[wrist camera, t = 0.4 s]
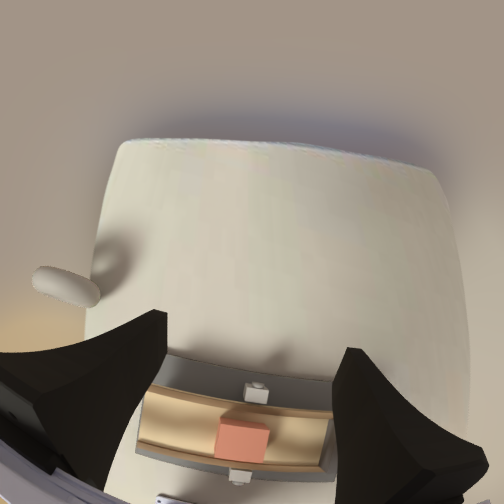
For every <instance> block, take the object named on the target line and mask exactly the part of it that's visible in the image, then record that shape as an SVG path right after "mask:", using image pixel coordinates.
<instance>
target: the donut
mask: <svg viewBox="0 0 504 504" xmlns="http://www.w3.org/2000/svg"><path fill="white" fill-rule="evenodd" d="M32 284H33V286H34V288H35V289H36V290H37V291H38V292H40V293H42V294H44V295H46V296H48V297H51V298H54V299H56V300H59V301H62V302H66V303H69V304H72V305H76V306H80V307H86V308H91V307H94V306H96V305H97V304H98V302H99V300H100V294H101V293H100V289H99V288H98V286H97V285H96V284H95V283H94V282H92V281H91V280H89V279H87V278H84V277H82V276H80V275H77V274H74V273H72V272H69V271H66V270H62V269H59V268H55V267H49V266H41V267H39V268H37V269H36V270H35V272H34V273H33V275H32Z"/></svg>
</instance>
